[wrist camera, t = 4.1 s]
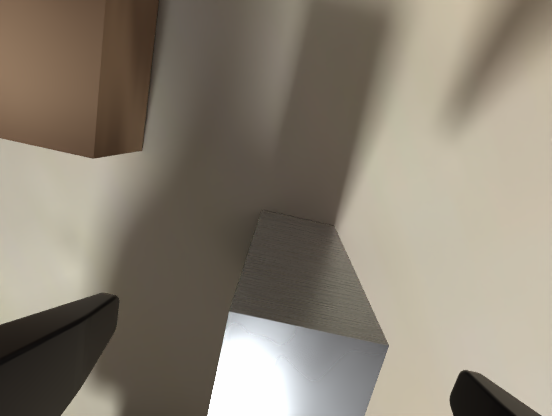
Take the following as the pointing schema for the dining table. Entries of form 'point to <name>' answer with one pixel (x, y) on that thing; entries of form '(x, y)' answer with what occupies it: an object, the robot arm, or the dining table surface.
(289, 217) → the square bit
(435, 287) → the dining table surface
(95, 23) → the socket block
